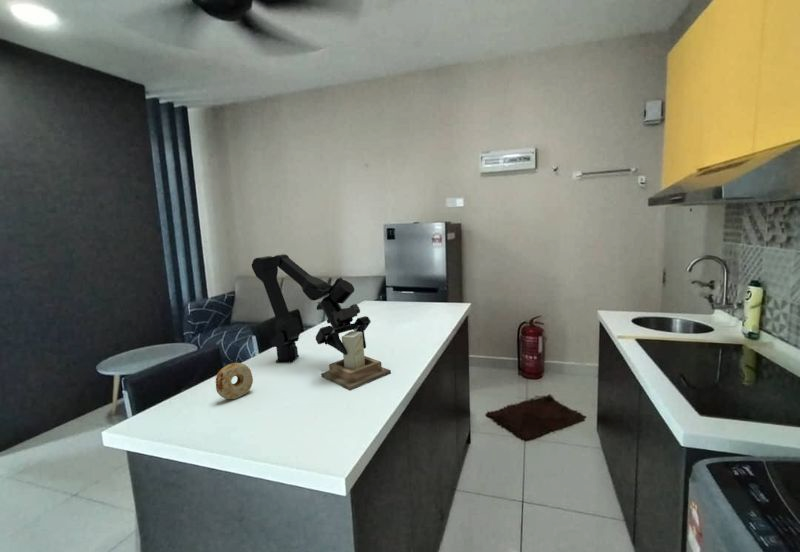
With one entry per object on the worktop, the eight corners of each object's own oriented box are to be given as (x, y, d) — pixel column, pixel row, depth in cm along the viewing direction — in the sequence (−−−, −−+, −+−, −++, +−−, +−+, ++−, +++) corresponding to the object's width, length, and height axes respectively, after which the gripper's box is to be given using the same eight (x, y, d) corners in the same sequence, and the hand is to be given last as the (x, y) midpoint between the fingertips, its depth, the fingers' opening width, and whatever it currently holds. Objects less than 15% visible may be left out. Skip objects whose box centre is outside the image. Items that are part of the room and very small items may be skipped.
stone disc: (222, 405, 108) (217, 371, 106) (216, 402, 110) (211, 369, 109) (256, 391, 115) (252, 360, 114) (250, 388, 118) (246, 357, 116)
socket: (321, 376, 124) (320, 364, 123) (361, 361, 134) (360, 351, 134) (349, 390, 112) (348, 377, 111) (390, 373, 122) (390, 361, 122)
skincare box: (356, 374, 119) (353, 337, 117) (344, 373, 121) (340, 336, 119) (365, 367, 125) (363, 331, 123) (354, 365, 127) (351, 330, 125)
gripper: (316, 303, 116) (340, 345, 110) (365, 292, 129) (388, 330, 122) (306, 323, 123) (327, 364, 117) (353, 312, 135) (375, 348, 129)
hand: (356, 351), depth 121 cm, fingers closed on skincare box, 7 cm apart
